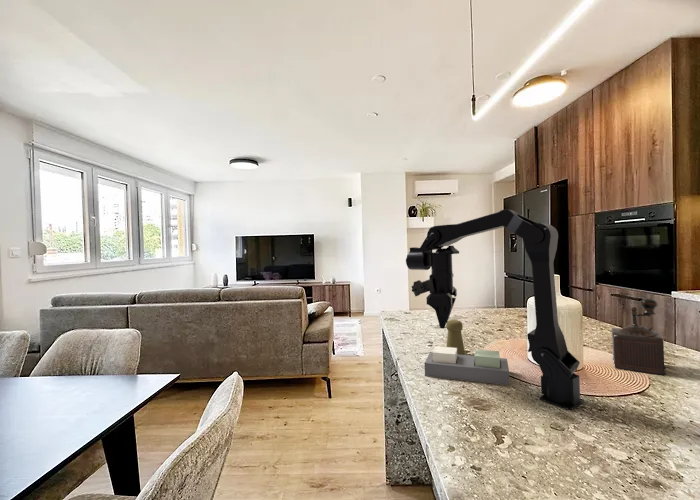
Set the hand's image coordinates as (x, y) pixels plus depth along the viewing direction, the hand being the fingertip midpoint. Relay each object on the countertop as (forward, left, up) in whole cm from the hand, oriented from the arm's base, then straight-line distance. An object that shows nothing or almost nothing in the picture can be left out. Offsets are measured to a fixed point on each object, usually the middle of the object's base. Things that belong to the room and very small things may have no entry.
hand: (443, 325), depth 93 cm
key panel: (-5, -3, -13) cm, 14 cm away
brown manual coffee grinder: (-29, -47, -13) cm, 57 cm away
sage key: (-9, -7, -10) cm, 15 cm away
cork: (+8, -14, -13) cm, 21 cm away
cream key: (0, 0, -10) cm, 10 cm away
